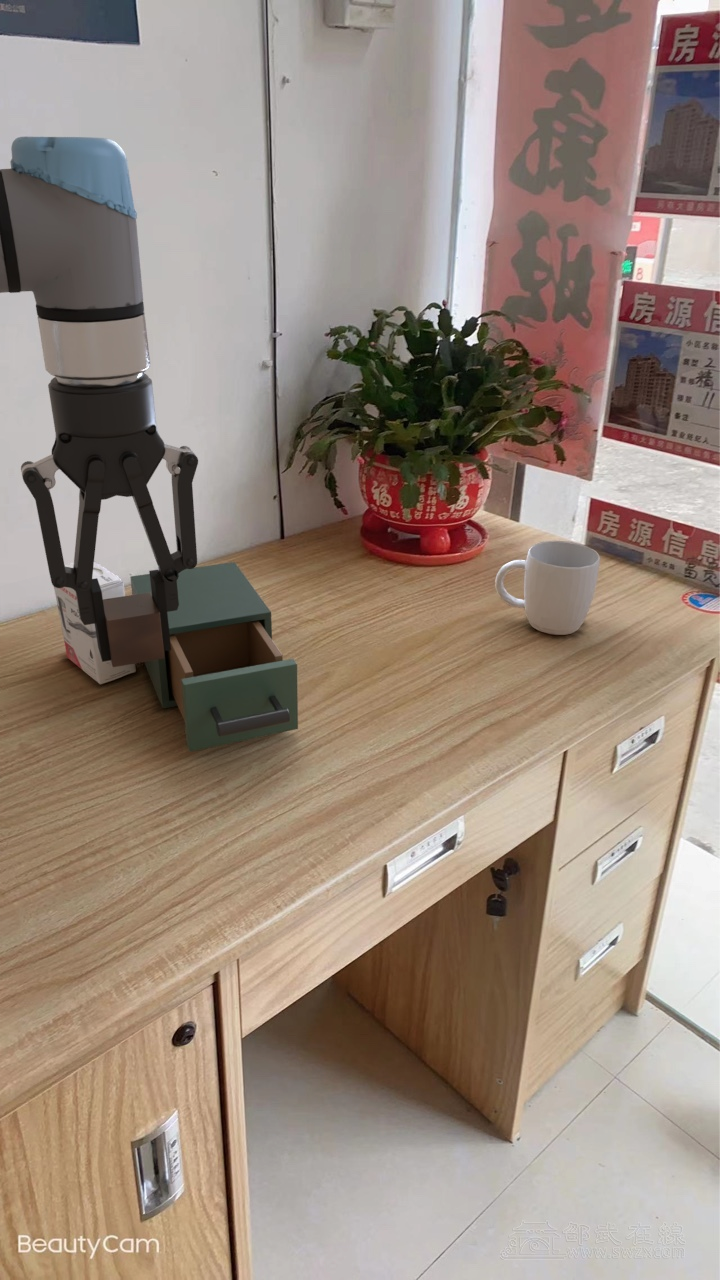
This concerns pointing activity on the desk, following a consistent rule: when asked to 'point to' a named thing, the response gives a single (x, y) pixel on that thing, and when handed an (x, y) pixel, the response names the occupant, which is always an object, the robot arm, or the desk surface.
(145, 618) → the block
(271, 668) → the drawer
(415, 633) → the desk surface
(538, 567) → the mug
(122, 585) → the ink box
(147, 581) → the cabinet
